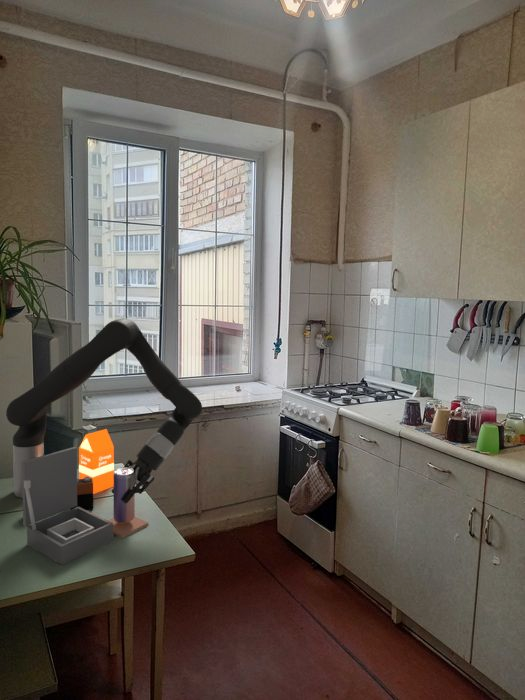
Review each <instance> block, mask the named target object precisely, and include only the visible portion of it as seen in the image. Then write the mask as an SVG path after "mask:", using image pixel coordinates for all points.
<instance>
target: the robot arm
mask: <svg viewBox="0 0 525 700" xmlns="http://www.w3.org/2000/svg"><path fill="white" fill-rule="evenodd" d="M124 349H126V350H127V351H128V352H130V354H131V355H133V356H134V357H135V359H137V361H138V362H139V364H140V365H141V367H142V370H143V371H144V373H145V375H146V376H147V379H148V380H149V382H150V383H151V384H152V386H153V387H154V388H155V389H156V390H157V391H158V392H159V394H161V395H162V397H164V398H165V399H166V400H168V401H169V402H171V403H172V405H173V406H174V407H175V408H174V409H173V411H172V412H171V413H170V415H169V417H168V418H167V419H166V420H165V421H164V422H163V423H162V424H161V426H160V427H159V428H158V429H157V430H156V432H155V433H154V434H152V436H150V438H149V439H148V440H147V442H146V443H144V445H143V446H142V447H141V449H140V450H139V451H138V452H137V454H136V457H137V459H136V460H135V461H134V462H133V461H132V460H131V459H129V460H128V461H127V462H126V463H125V465H124V466H123V467H122V468H131V469H133V470H134V474H135V475H134V478H133V483H132V484H131V487H130V489H128V490H127V492H126V493H125V494H124V495H123V497H122V498H121V501H123V502H124V503H125V504H126V503H128V502H129V501H130V499H131V498H132V497H133V495H134V494H135V495H136V494H141V495H142V493H143V492H144V491H145V490H147V488H148V487H149V485H151V484H152V483H153V482H154V481H155V477H154V476H153V475H152V472H153V471H157V470H158V469H159V468H160V467H161V466H162V463H164V461H165V460H166V459H167V457H168V456H169V455H170V453H171V452H172V450H173V448H174V447H175V446H176V445H177V443H178V442H179V441H180V439H181V438H182V436H183V435H184V434H185V431H186V430H187V428H188V427H189V426H190V424H191V423H192V422H193V421H194V420H195V419H196V418H198V417H199V416H200V415H201V414H202V411H203V404H202V402H201V401H200V399H199V398H198V397H197V396H196V394H194V393H193V392H192V391H191V390H189V388H187V386H185V385H184V384H183V383H182V382H181V381H180V379H179V377H177V376H176V375H175V374H174V372H172V371H171V369H170V368H169V367H168V366H167V365H166V364H165V362H164V361H162V359H161V358H160V357H159V355H158V354H157V352H155V350H154V349H153V347H152V346H151V344H150V343H149V341H148V340H147V339H146V337H145V335H144V334H143V332H142V331H141V329H140V328H139V326H138V325H137V323H135V321H133V320H132V319H130V318H125V317H123V318H122V317H121V318H118V319H115V320H111V321H110V322H108V323H107V324H105V326H104V327H103V328H101V330H100V331H99V332H98V333H97V334H95V336H94V337H93V338H92V339H90V341H89V342H88V343H87V344H86V345H85V344H84V346H82V347H80V348H79V349H77V350H76V351H74V352H73V353H72V354H71V355H69V356H67V358H65V359H64V360H63V361H61V362H60V363H59V364H58V365H57V366H56V367H54V368H53V369H52V370H51V371H50V372H48V373H47V374H46V375H45V376H44V377H43V378H41V379H40V381H39V382H38V383H37V384H36V385H35V386H33V387H32V388H30V389H29V390H27V391H25V392H24V393H23V394H21V395H19V396H18V397H16V398H15V399H13V400H11V401H10V403H9V404H8V406H7V408H6V412H5V413H6V418H7V421H8V422H9V423H10V424H12V425H13V426H16V427H17V426H18V429H17V430H16V432H15V433H14V435H13V436H12V453H13V464H12V477H13V479H12V480H13V493H14V496H15V497H17V498H22V499H23V494H22V461H26V460H29V459H33V458H36V457H40V456H44V455H45V446H44V438H45V435H46V431H47V406H49V405H50V404H53V403H54V402H55V401H57V400H60V399H62V398H63V397H65V396H67V395H69V394H70V393H71V392H73V391H74V390H76V389H78V387H80V386H81V385H82V384H84V383H85V382H87V381H88V380H89V378H91V376H93V374H94V373H95V372H96V371H97V369H98V368H99V367H100V366H101V364H103V363H104V362H105V361H107V360H108V359H109V358H111V357H112V356H114V355H115V354H117V353H119V352H121V351H123V350H124ZM111 493H112V494H113V495H114V487H112V489H111Z"/></svg>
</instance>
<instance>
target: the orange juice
mask: <svg viewBox="0 0 525 700" xmlns="http://www.w3.org/2000/svg"><path fill="white" fill-rule="evenodd" d="M114 447H115V446H114V443H113V441H112V439H111V436H110V434H109V432H108V429H107V428H105V429H101V430H97V431H95V432H94V431H93V432H91V433H86V434H85V436H84V438H83V439H82V442H81V444H80V445H79V447H78V475H79V476H78V479H84V477H90V478H92V479H93V495H94V494H97V493H99V492H103V491H104V490H107V489H110V488H114V480H113V476H114V471H115V458H114V457H115V456H114V454H115V452H114V451H115V448H114Z"/></svg>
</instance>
